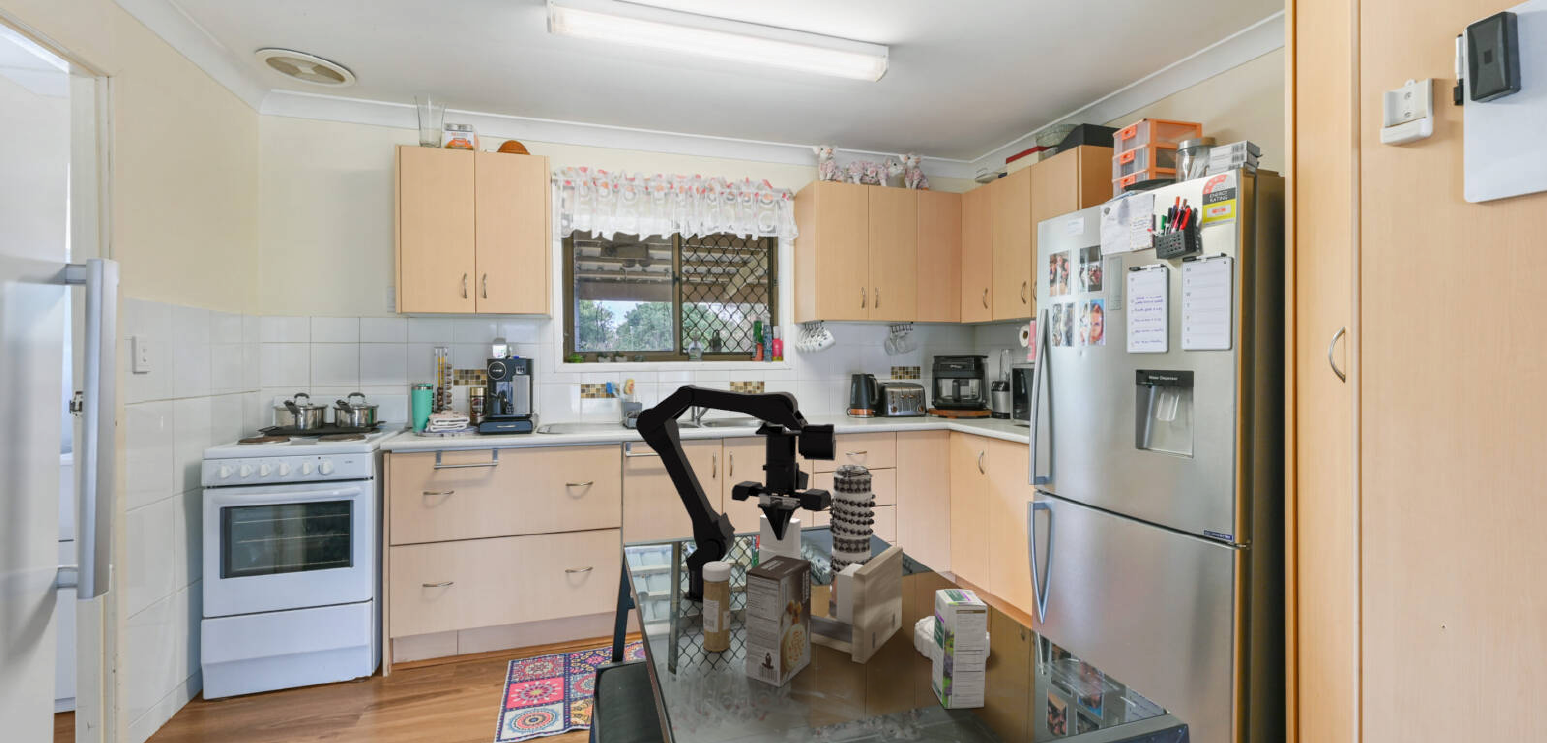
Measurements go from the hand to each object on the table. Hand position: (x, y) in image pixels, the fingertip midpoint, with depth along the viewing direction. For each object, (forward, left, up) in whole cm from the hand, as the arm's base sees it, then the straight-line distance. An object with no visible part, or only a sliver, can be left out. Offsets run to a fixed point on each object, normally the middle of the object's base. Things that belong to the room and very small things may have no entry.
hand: (780, 540), depth 123 cm
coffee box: (+11, -23, -12) cm, 28 cm away
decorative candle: (+10, +12, -12) cm, 20 cm away
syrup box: (+37, -18, -12) cm, 43 cm away
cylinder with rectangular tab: (-7, +14, -12) cm, 20 cm away
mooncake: (+33, -3, -13) cm, 35 cm away
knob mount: (+18, -7, -12) cm, 23 cm away
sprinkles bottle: (-1, -21, -12) cm, 24 cm away
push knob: (+18, -7, -11) cm, 22 cm away
